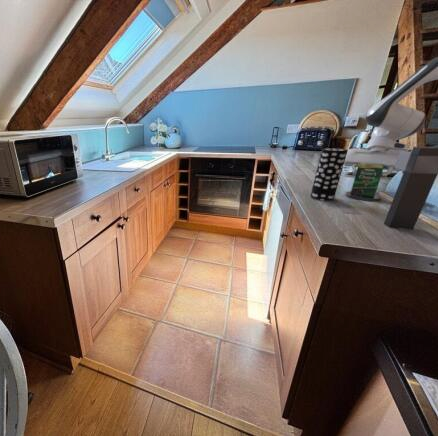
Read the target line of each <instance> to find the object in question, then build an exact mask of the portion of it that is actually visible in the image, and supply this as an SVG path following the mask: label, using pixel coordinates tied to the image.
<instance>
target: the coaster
mask: <svg viewBox="0 0 438 436" xmlns="http://www.w3.org/2000/svg"><path fill="white" fill-rule="evenodd" d="M344 195H345V197H347V198H349V199H353V200H359V201H365V202H375V201H379V199H380V196H379V195H377V194H375V196H374V197H368V196H362V195H355V194H351V190H350V191H346V192H345V194H344Z"/></svg>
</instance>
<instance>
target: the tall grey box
mask: <svg viewBox="0 0 438 436" xmlns="http://www.w3.org/2000/svg"><path fill="white" fill-rule="evenodd" d="M394 168H396V169H399V170H402V171H401V174H402V176H401V178H400V180H399V184H398V186H397V188H396V191H395V194H394V196H393V199H392V201H391V204H390V207H389V209H388V212H387V214H386V216H385V219H384V222H383V225H385V226H386V227H388V228H392V229H393V228H394V229H407V230H414V229H415V226H416V224H417V222H418V220H419V217H420V215H421V213H422V210H423V208H424V207H425V204H426V202H427V199H428V197H429V195H430V193H431V190H432V188H433V186H434V183H435V181H436V179H437V177H438V146H413V147H412V150H411V151H408V152H400V153H399V156H398V158H397V161H396V164H395V167H394Z"/></svg>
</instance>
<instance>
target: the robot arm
mask: <svg viewBox="0 0 438 436" xmlns="http://www.w3.org/2000/svg"><path fill="white" fill-rule="evenodd" d="M437 80H438V56H436V57H435V58H433V59H430V61H428V62H427V63H425V64H424V65H422V66H421V67H420V68H419V69H417V71H415V72H413V74H411V75H410V76H409V77H408V78H407V79H405V80H404V81H403V82H402V83H400V84H399V85H398V86H397V87H396V88H394V89H393V90H392V91H391V92H390V93H388V94H387V95H385V96H384V97H383V98H382V99H380V100H379V101H378V102H376V103H374V105H372V106H371V107H370V108H369V109H368V111H367V112H366V113H365V122H366V124H367V125H368V126H371V127H373V130H372V132H371V134H370V139H369V140H368V142H367V144H366V146H365V147H357V146H356V147H355V146H354V147H352V148H348V149H347V150H348V151H347V155H346V158H345V162H344V165H343V166H344V167H351V170H352V173H351V174H352V175H356V172H357V168H358V165H359V164H360V163H366V164H381V165H384V169H383V172H382V175H381V178H380V179H387V176H388V175H391V174H392V173H393V171H394V172H402V170H399V169H396V168H394V167H395V164H396V161H397V158H398V156H399V153H400V152H409V148H410V147H409V145H408V144H406V143H401V142H398V140H403V139H406V138H408V137H411V136H414V135H416V133H418V132H420V131H421V130H422V128H423V127H424V124H425V122H426V119H427V116H426V113H425V112H423V111H421V110H418V109H415V108H412V107H409V106H406V105H404V104H401V103H400V102H401V101H402V100H404V99H405V98H406V97H407V96H409V95H410V94H412V93H413V92H414V91H415V90H417V89H418V88H419V87H421V86H422V85H424V84H426V83H429V82H432V81H437ZM384 170H385V171H384Z"/></svg>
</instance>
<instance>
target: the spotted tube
mask: <svg viewBox="0 0 438 436" xmlns="http://www.w3.org/2000/svg"><path fill="white" fill-rule="evenodd" d="M347 151H348V149H346V148H336V147H335V148H334V147H332V148H329V147H325V148H321V151H320V155H319V159H318V163H317V168H316V172H315V175H314V179H313V184H312V188H311V192H310V195H309V196H310V198H311V199H313V200H317V201H323V202H332V201H334V200H335V197H336V193H337V189H338V186H339V182H340V179H341V176H342V172H343V169H344V166H345V165H344V162H345V158H346V155H347Z"/></svg>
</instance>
